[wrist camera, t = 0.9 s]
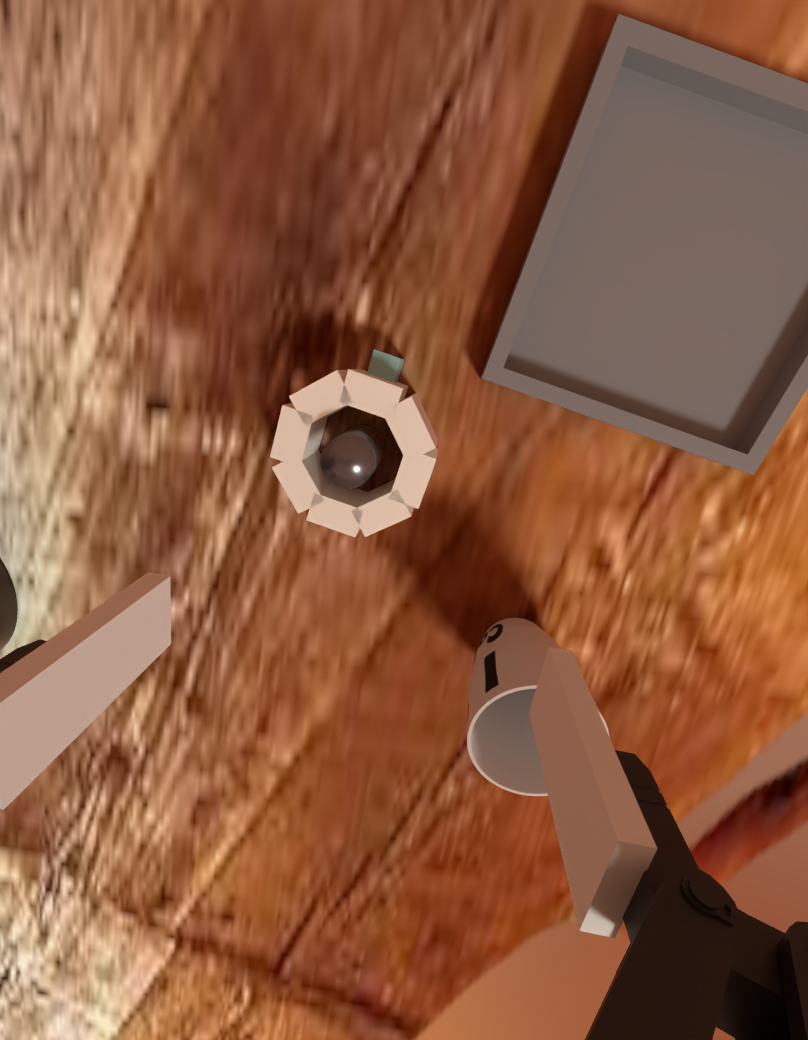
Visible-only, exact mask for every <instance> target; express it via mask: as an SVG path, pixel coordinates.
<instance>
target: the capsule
mask: <svg viewBox="0 0 808 1040" xmlns="http://www.w3.org/2000/svg"><path fill="white" fill-rule="evenodd" d="M385 452H386V445H385V441H384V438H383V436H382V435H381V434H380V432H379V431H378V430H376V429H375V428H373V427H371V426H368V425H357V426H354V427H352V428H350V429H349V430H347V431H345V432H344V433H342V434H340V435H339V436H337V437H335V438H334V439H332V440H330V441H329V442H328V443H327V444H326V445H325V447H324V448H323V450H322V453H321V458H320V464H321V469H322V471H323V474H324V475H325V477H326V478H327V479H328V480H329V481H330V482H331V483H332V484H333V485H335V486H337V487H340V488H344V489H353V488H357V487H359V486H361V485H363V484H364V483H365V482H366V481H367V480H368V479H369V478H370V476H371V475H372V473H373V472H374V471H375V469H376V468H377V467H378V465H379V464H380V463H381V461H382V460H383V458H384V456H385Z"/></svg>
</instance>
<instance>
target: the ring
mask: <svg viewBox="0 0 808 1040" xmlns="http://www.w3.org/2000/svg"><path fill="white" fill-rule="evenodd" d="M403 363H404V359H401V358H399V357H396V356H393V355H390V354H387V353H385V352H382V351H379V350H375V349H374V351H373V354H372V358H371V361H370V365H369V368H368V371H365V370H362V369H348V370H336V371H334V372H332V373H331V374H329V375H327V376H325V377H323V378H321V379H320V380H318V381H316V382H314V383H312V384H310V385H309V386H307V387H305V388H303V389H301V390H299V391H298V392H296V393H294V394H292V395H290V396H289V398H290V399H291V401H292V403H289V404H284V405H282V408H281V413H280V417H279V421H278V425H277V430H276V434H275V438H274V442H273V447H272V451H271V455H270V457H271V458H274V459H277V460H280V461H283V462H281V463H279V464H277V465H276V466H274V467H272V469H273V471H274V472H275V474H276V476H277V478H278V479H279V481H280V483H281V485H282V486H283V488H284V490H285V491H286V493H287V495H288V497H289V498H290V500H291V502H292V504H293V505H294V507H295V509H296V511H297V512H298V514H299V513H301V512H303V511H305V510H307V509H309V508H310V509H309V513H308V516H307V521H310V522H313V523H315V524H318V525H321V526H324V527H327V528H330V529H333V530H335V531H338V532H341V533H344V534H347V535H350V536H353V537H356V535H357V533H358V531H359V529H360V528H361V530H362V532H363V534H364V536H365V537H366V536H369V535H371V534H373V533H375V532H378V531H380V530H382V529H384V528H387V527H389V526H391V525H393V524H396V523H398V522H400V521H402V520H405V519H407V518H409V517H411V516H412V512H413V508H417V509H419V506H420V503H421V501H422V498H423V495H424V492H425V490H426V487H427V484H428V481H429V479H430V476H431V473H432V470H433V468H434V465H435V462H436V459H437V453H438V448H436V445H437V440H438V438H437V436H436V434H435V432H434V430H433V428H432V425H431V423H430V421H429V419H428V417H427V415H426V413H425V411H424V408H423V406H422V404H421V402H420V400H419V398H418V396H417V393H415V394H413V395H411V396H409V397H407V398H405V396H406V393H407V389H408V386H407V385H404V384H402V383H399V382H398V379H399V375H400V372H401V369H402V366H403ZM347 406H351V407H354V408H357V409H360V410H362V411H365V412H368V413H371V414H374V415H377V416H379V417H382V418H385V419H386V421H387V423H388V425H389V427H390V429H391V431H392V433H393V435H394V437H395V439H396V441H397V443H398V445H399V448H400V450H401V452H402V454H403V458H402V461H401V464H400V467H399V470H398V473H397V476H396V479H394V480H392V481H390V482H388V483H386V484H384V485H382V486H379V487H377V488H375V489H373V490H371V491H369V492H366V491H363V490H360V489H358V488H353V489H344V488H340V487H337V486H335V485H333V484H332V483H331V482H330V481H329V480H328V479H327V478H326V477H325V475H324V474H323V471H322V469H321V464H320V458H321V453H320V451H319V447H320V444H321V440H322V436H323V433H324V429H325V425H326V422H327V418H328V416H330V415H332V414H334V413H336V412H338V411H340V410H341V409H343V408H345V407H347Z"/></svg>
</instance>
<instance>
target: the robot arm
mask: <svg viewBox="0 0 808 1040" xmlns="http://www.w3.org/2000/svg"><path fill="white" fill-rule="evenodd" d="M16 622H17V601H16V596H15V592H14V589H13V586H12V583H11V580H10V578H9V576H8V574H7V572H6V570H5V568H4V567H3V565H2V563H1V562H0V650H1V649H2V648H3V647H4V646H5V645H6V644H7V643H8V641H9V640H10V638H11V637H12V635H13V632H14V630H15V626H16ZM170 644H171V603H170V576H166V575H161V574H156V573H150V572H148V573H147V574H145V575H144V576H142V577H141V578H140V579H138V580H137V581H135V582H134V583H132V584H131V585H129V586H128V587H126V588H125V589H123V590H122V591H120V592H119V593H117V594H116V595H114V596H113V597H112V598H110V599H109V600H107V601H106V602H104V603H103V604H101V605H100V606H98V607H97V608H95V609H94V610H92V611H91V612H89V613H88V614H87V615H85V616H84V617H82V618H81V619H79V620H78V621H76V622H75V623H73V624H72V625H70V626H69V627H67V628H66V629H64V630H63V631H62V632H60V633H59V634H57V635H56V636H54V637H53V638H51V639H50V640H48V641H44V640H37V641H35V642H32V643H30V644H27V645H25V646H22V647H20V648H17V649H15V650H14V651H12V652H11V653H9V654H8V655H6V656H5V657H3V658H2V659H0V809H3V810H4V809H5V808H6V807H7V806H8V805H9V804H10V803H11V802H12V801H13V800H14V799H15V798H16V797H17V796H18V795H19V794H20V793H21V792H22V791H23V790H24V789H25V788H26V787H27V786H28V785H29V784H30V783H31V782H32V781H33V780H34V779H35V778H36V777H37V776H38V775H39V774H40V773H41V772H42V771H43V770H44V769H45V768H46V767H47V766H48V765H49V764H50V763H51V762H52V761H53V760H54V759H55V758H56V757H57V756H58V755H59V754H60V753H61V752H62V751H63V750H64V749H65V748H66V747H67V746H68V745H69V744H70V743H71V742H72V741H73V740H74V739H75V738H77V737H78V736H79V735H80V734H81V733H82V732H83V731H84V730H85V729H86V728H87V727H88V726H89V725H90V724H91V723H92V722H93V721H94V720H95V719H96V718H97V717H98V716H99V715H100V714H101V713H102V712H103V711H104V710H105V709H106V708H107V707H108V706H109V705H110V704H111V703H112V702H113V701H114V700H115V699H116V698H117V697H118V696H119V695H120V694H121V693H122V692H123V691H124V690H125V689H126V688H127V687H128V686H129V685H130V684H131V683H132V682H133V681H134V680H135V679H136V678H137V677H138V676H139V675H140V674H141V673H142V672H143V671H144V670H145V669H146V668H147V667H148V666H149V665H150V664H151V663H152V662H153V661H154V660H155V659H156V658H157V657H158V656H159V655H160V654H161V653H162V652H163V651H164V650H165V649H166V648H167V647H168V646H169V645H170ZM529 715H530V719H531V724H532V728H533V732H534V737H535V741H536V745H537V750H538V754H539V758H540V762H541V767H542V771H543V775H544V780H545V784H546V788H547V793H548V797H549V801H550V806H551V810H552V814H553V819H554V823H555V827H556V832H557V836H558V840H559V845H560V849H561V853H562V857H563V862H564V866H565V870H566V875H567V879H568V883H569V888H570V892H571V896H572V901H573V905H574V909H575V914H576V918H577V922H578V927H579V930H580V931H584V932H589V933H593V934H598V935H603V936H608V937H613V938H615V937H616V934H617V933H618V930H619V928H620V926H621V924H622V922H623V920H624V923H625V926H626V929H627V932H628V936H629V939H630V942H631V943H630V945H629V947H628V949H627V951H626V953H625V956H624V957H623V960H622V962H621V963H620V966H619V968H618V970H617V972H616V975H615V977H614V979H613V981H612V983H611V985H610V987H609V990H608V992H607V994H606V996H605V998H604V1000H603V1002H602V1005H601V1007H600V1009H599V1011H598V1013H597V1015H596V1017H595V1019H594V1021H593V1024H592V1026H591V1028H590V1030H589V1032H588V1034H587V1036H586V1039H585V1040H712V1039H713V1035H714V1031H715V1027H717V1028H719V1029H721V1030H722V1031H724V1032H726V1033H727V1034H729V1035H731V1036H732V1037H734V1038H735V1040H808V922H795V923H794V924H793V925H791V926H790V927H789V929H788V930H787V932H786V933H783V932H781V931H779V930H777V929H775V928H773V927H771V926H769V925H767V924H765V923H763V922H761V921H759V920H757V919H755V918H753V917H751V916H749V915H747V914H746V913H744V912H742V911H741V910H739V909H737V907H736V904H735V902H734V901H733V900H732V898H731V897H730V896H729V894H728V893H727V891H726V890H725V889H724V888H723V887H722V886H721V885H720V884H719V883H718V882H717V881H716V880H715V879H713V878H712V877H711V876H710V875H708V874H707V873H705V872H703V871H702V870H700V869H699V868H698V866H697V864H696V862H695V860H694V858H693V856H692V854H691V852H690V850H689V848H688V846H687V844H686V842H685V840H684V838H683V836H682V834H681V832H680V830H679V828H678V826H677V824H676V822H675V820H674V818H673V816H672V814H671V812H670V810H669V809H667V804H666V802H665V800H664V798H663V796H662V794H661V793H660V792H659V791H660V790H659V788H658V786H657V784H656V782H655V780H654V778H653V776H652V774H651V772H650V770H649V769H648V768H647V767H646V766H645V765H644V764H643V763H642V762H641V760H640V759H639V758H638V757H637V756H636V755H635V754H632V753H627V752H622V751H617V750H614V747H613V745H612V743H611V740H610V738H609V736H608V734H607V731H606V729H605V727H604V724H603V722H602V720H601V717H600V715H599V713H598V710H597V708H596V706H595V704H594V701H593V699H592V697H591V694H590V692H589V690H588V687H587V685H586V683H585V680H584V678H583V676H582V674H581V671H580V669H579V667H578V664H577V662H576V660H575V657H574V655H573V653H572V651H569V650H563V649H558V648H553V647H549V648H548V651H547V655H546V658H545V661H544V665H543V668H542V671H541V674H540V678H539V681H538V684H537V688H536V691H535V694H534V698H533V701H532V704H531V707H530V711H529Z"/></svg>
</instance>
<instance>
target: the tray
mask: <svg viewBox="0 0 808 1040" xmlns="http://www.w3.org/2000/svg"><path fill="white" fill-rule="evenodd" d="M480 378H482V379H485V380H487V381H490V382H493V383H496V384H499V385H501V386H504V387H507V388H510V389H513V390H515V391H518V392H521V393H524V394H527V395H530V396H532V397H535V398H538V399H541V400H544V401H546V402H549V403H552V404H555V405H558V406H561V407H563V408H566V409H569V410H572V411H575V412H577V413H580V414H583V415H586V416H589V417H591V418H594V419H597V420H600V421H603V422H606V423H608V424H611V425H614V426H617V427H620V428H622V429H625V430H628V431H631V432H634V433H637V434H639V435H642V436H645V437H648V438H651V439H653V440H656V441H659V442H662V443H665V444H667V445H670V446H673V447H676V448H679V449H682V450H684V451H687V452H690V453H693V454H696V455H698V456H701V457H704V458H707V459H710V460H713V461H715V462H718V463H721V464H724V465H727V466H729V467H732V468H735V469H738V470H741V471H744V472H746V473H749V474H752V475H754V474H755V472H756V471H757V469H758V467H759V466H760V464H761V462H762V461H763V459H764V458H765V456H766V454H767V453H768V451H769V449H770V448H771V446H772V445H773V443H774V441H775V440H776V438H777V436H778V435H779V433H780V432H781V430H782V428H783V427H784V425H785V423H786V422H787V420H788V418H789V417H790V415H791V414H792V412H793V410H794V409H795V407H796V405H797V404H798V402H799V401H800V399H801V397H802V396H803V394H804V392H805V391H806V389H807V388H808V83H806V82H803V81H800V80H798V79H795V78H792V77H789V76H787V75H784V74H781V73H779V72H776V71H773V70H770V69H768V68H765V67H762V66H760V65H757V64H754V63H751V62H749V61H746V60H743V59H741V58H738V57H735V56H732V55H730V54H727V53H724V52H722V51H719V50H716V49H713V48H711V47H708V46H705V45H702V44H700V43H697V42H694V41H692V40H689V39H686V38H683V37H681V36H678V35H675V34H673V33H670V32H667V31H664V30H662V29H659V28H656V27H654V26H651V25H648V24H645V23H643V22H640V21H637V20H635V19H632V18H629V17H626V16H624V15H621V14H618V16H617V18H616V20H615V22H614V25H613V27H612V29H611V31H610V33H609V35H608V37H607V39H606V42H605V44H604V47H603V50H602V52H601V55H600V58H599V60H598V63H597V66H596V68H595V71H594V74H593V76H592V79H591V82H590V84H589V87H588V90H587V92H586V95H585V98H584V100H583V103H582V106H581V108H580V111H579V114H578V116H577V119H576V122H575V125H574V127H573V130H572V133H571V135H570V138H569V141H568V143H567V146H566V149H565V151H564V154H563V157H562V159H561V162H560V165H559V167H558V170H557V173H556V175H555V178H554V181H553V183H552V186H551V189H550V191H549V194H548V197H547V199H546V202H545V205H544V208H543V210H542V213H541V216H540V218H539V221H538V224H537V226H536V229H535V232H534V234H533V237H532V240H531V242H530V245H529V248H528V250H527V253H526V256H525V258H524V261H523V264H522V266H521V269H520V272H519V274H518V277H517V280H516V282H515V285H514V288H513V291H512V293H511V296H510V299H509V301H508V304H507V307H506V309H505V312H504V315H503V317H502V320H501V323H500V325H499V328H498V331H497V333H496V336H495V339H494V341H493V344H492V347H491V349H490V352H489V355H488V357H487V360H486V363H485V365H484V368H483V371H482V374H481V376H480Z"/></svg>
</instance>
